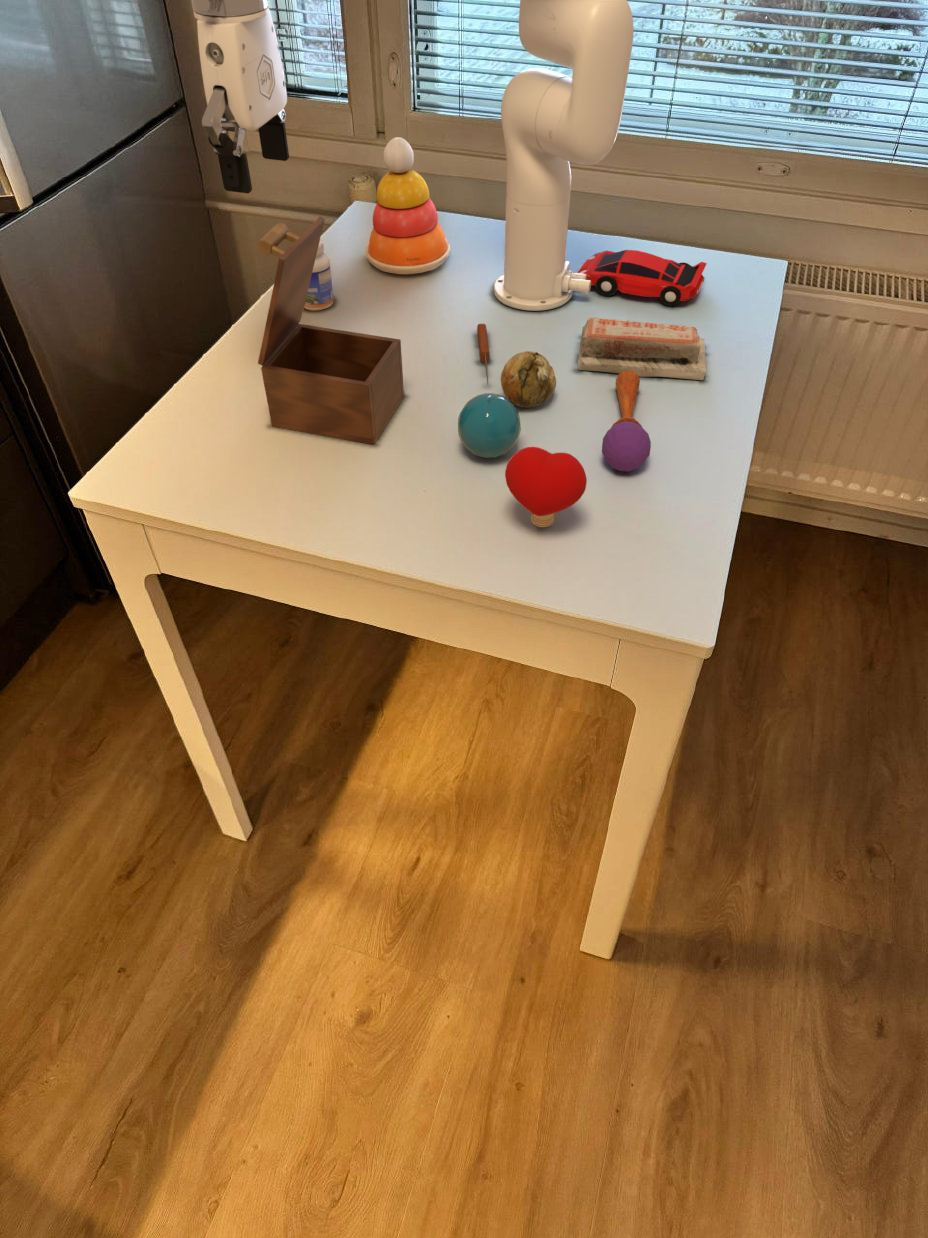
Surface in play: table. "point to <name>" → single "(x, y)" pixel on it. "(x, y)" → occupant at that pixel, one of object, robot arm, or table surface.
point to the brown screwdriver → (483, 345)
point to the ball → (489, 425)
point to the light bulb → (545, 482)
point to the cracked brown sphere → (528, 379)
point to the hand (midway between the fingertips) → (257, 174)
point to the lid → (288, 282)
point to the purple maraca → (626, 429)
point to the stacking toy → (405, 218)
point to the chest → (334, 383)
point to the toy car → (643, 275)
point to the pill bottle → (320, 283)
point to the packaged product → (642, 349)
